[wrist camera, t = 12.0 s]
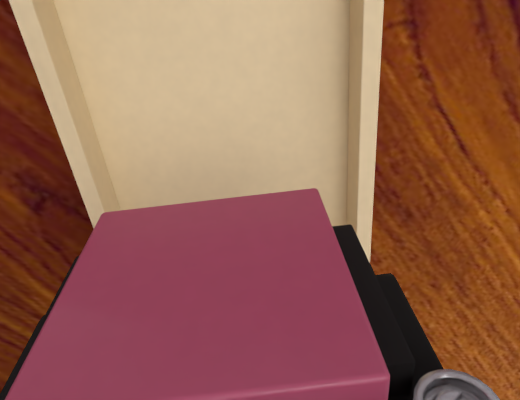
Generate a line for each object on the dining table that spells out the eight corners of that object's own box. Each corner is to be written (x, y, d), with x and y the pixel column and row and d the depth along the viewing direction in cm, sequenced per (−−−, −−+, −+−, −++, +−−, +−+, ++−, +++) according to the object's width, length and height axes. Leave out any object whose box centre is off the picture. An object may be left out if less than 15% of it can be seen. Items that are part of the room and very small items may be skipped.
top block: (101, 210, 9) (-14, 425, 5) (317, 186, 9) (393, 377, 5) (151, 355, 12) (105, 581, 7) (322, 335, 12) (374, 549, 7)
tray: (16, -69, 15) (-20, -74, 13) (367, -108, 16) (390, -120, 13) (133, 279, 24) (123, 310, 22) (356, 252, 24) (369, 281, 22)
